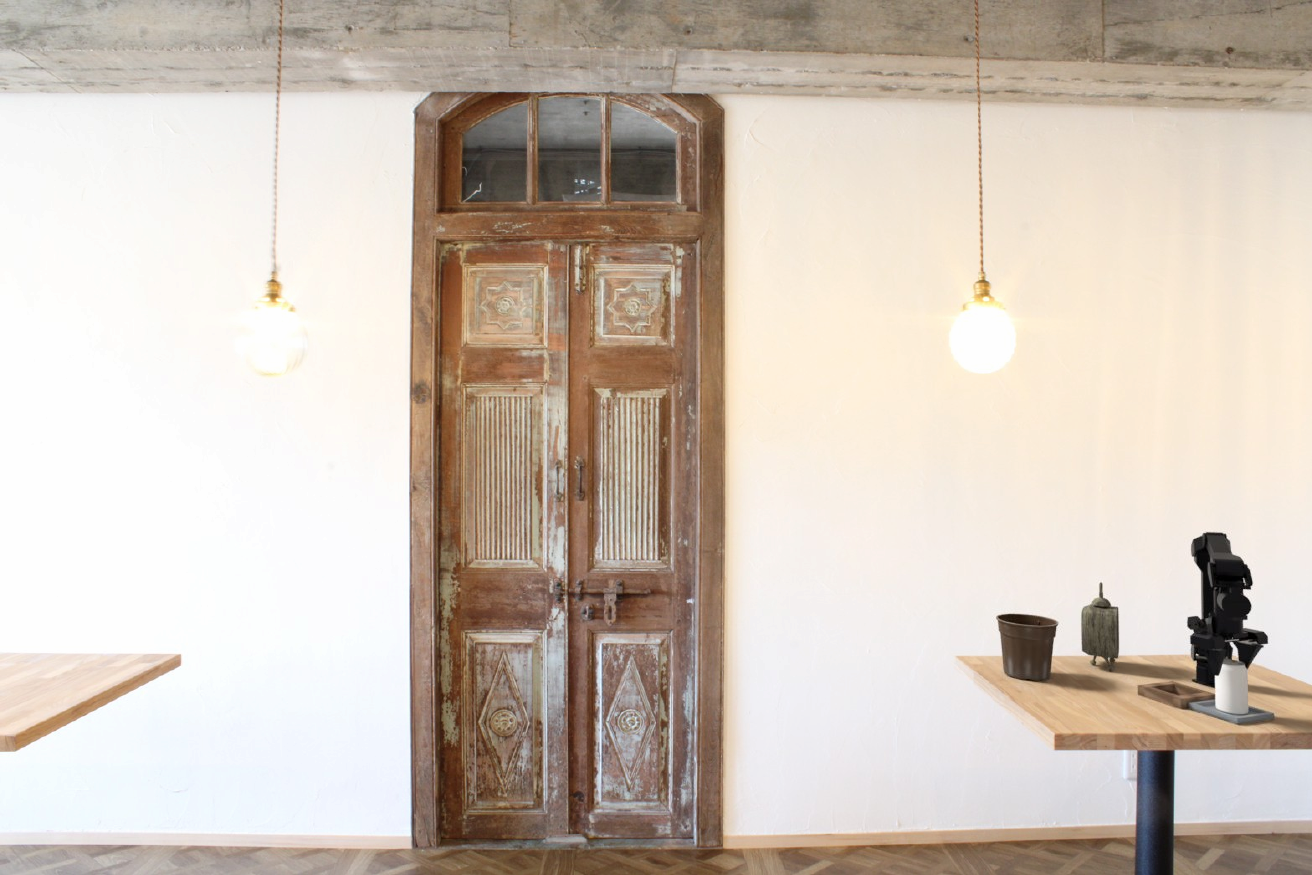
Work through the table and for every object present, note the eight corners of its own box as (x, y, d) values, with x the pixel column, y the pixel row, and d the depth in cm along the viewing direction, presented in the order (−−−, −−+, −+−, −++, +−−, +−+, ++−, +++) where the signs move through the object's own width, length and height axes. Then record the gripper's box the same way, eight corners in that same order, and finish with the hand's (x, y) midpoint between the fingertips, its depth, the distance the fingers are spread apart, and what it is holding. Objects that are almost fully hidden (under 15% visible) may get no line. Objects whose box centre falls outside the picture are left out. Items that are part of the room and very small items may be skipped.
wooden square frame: (1172, 690, 207) (1171, 681, 208) (1216, 704, 196) (1216, 694, 196) (1137, 694, 204) (1137, 685, 204) (1180, 708, 192) (1180, 698, 192)
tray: (1223, 703, 196) (1223, 698, 196) (1274, 719, 185) (1273, 713, 185) (1188, 708, 193) (1188, 702, 193) (1237, 724, 181) (1237, 718, 181)
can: (1254, 716, 185) (1253, 666, 185) (1223, 714, 186) (1222, 664, 187) (1239, 707, 191) (1238, 659, 192) (1210, 706, 193) (1209, 657, 193)
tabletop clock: (1117, 674, 223) (1115, 587, 223) (1081, 669, 228) (1080, 584, 228) (1119, 662, 235) (1118, 580, 236) (1085, 658, 240) (1084, 578, 241)
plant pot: (1070, 677, 220) (1069, 620, 220) (1039, 687, 211) (1038, 627, 211) (1016, 664, 233) (1015, 611, 234) (985, 673, 224) (984, 617, 225)
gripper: (1223, 601, 200) (1224, 662, 199) (1168, 606, 194) (1170, 668, 194) (1268, 609, 189) (1270, 673, 189) (1212, 614, 183) (1213, 680, 183)
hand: (1229, 673), depth 189 cm, fingers open, 9 cm apart
